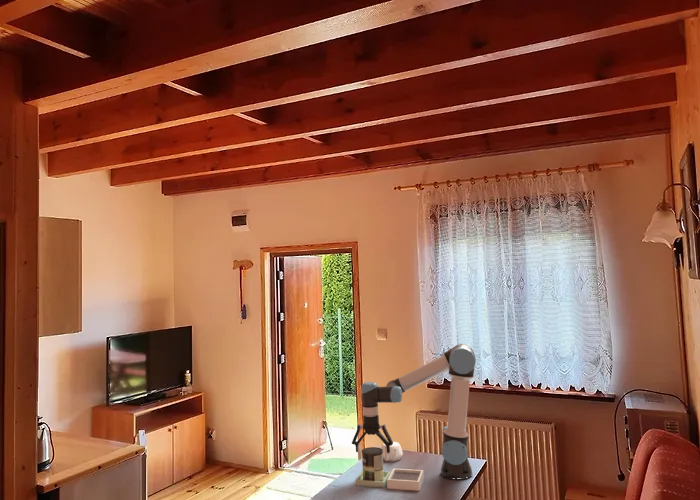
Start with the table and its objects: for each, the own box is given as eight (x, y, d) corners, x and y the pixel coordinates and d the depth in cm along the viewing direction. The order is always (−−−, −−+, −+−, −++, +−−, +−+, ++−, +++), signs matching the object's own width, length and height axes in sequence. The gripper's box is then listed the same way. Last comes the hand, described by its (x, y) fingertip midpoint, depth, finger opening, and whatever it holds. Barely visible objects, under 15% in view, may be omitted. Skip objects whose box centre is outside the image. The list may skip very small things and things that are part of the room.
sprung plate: (420, 475, 256) (420, 473, 256) (416, 485, 244) (416, 483, 244) (395, 474, 259) (395, 472, 259) (390, 483, 247) (390, 481, 247)
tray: (390, 476, 261) (390, 471, 261) (384, 487, 247) (384, 482, 247) (362, 475, 264) (362, 469, 264) (355, 485, 251) (355, 480, 251)
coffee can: (364, 484, 250) (362, 454, 251) (361, 476, 260) (360, 447, 261) (385, 483, 251) (384, 453, 252) (382, 475, 261) (381, 446, 262)
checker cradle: (423, 478, 257) (423, 470, 257) (419, 490, 242) (419, 481, 242) (393, 476, 261) (393, 468, 261) (387, 488, 246) (387, 479, 246)
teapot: (407, 464, 278) (406, 444, 279) (384, 466, 276) (384, 446, 276) (398, 452, 298) (397, 433, 298) (376, 454, 296) (375, 435, 296)
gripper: (397, 413, 258) (400, 457, 256) (348, 412, 264) (350, 455, 263) (394, 417, 251) (397, 462, 249) (344, 416, 257) (346, 460, 256)
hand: (373, 459), depth 256 cm, fingers open, 13 cm apart
